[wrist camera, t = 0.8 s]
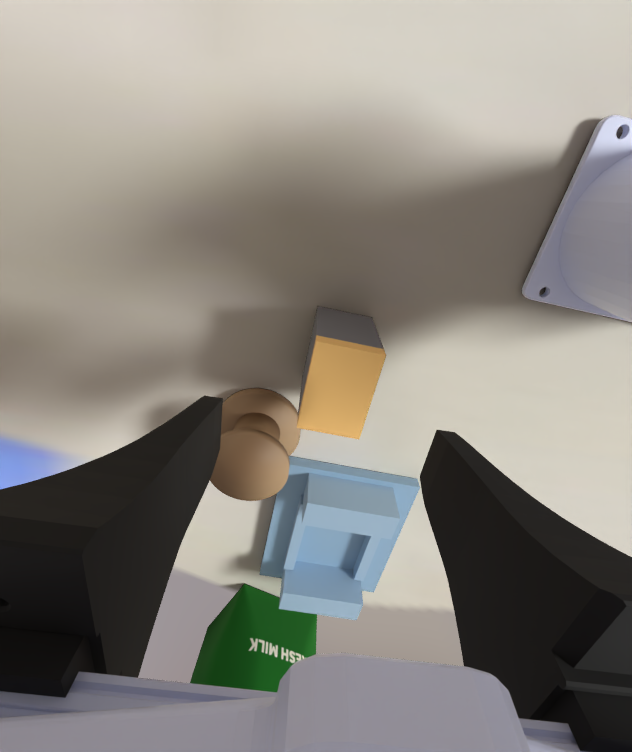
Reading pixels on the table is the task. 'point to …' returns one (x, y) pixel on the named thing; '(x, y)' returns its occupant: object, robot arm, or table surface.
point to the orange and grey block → (340, 373)
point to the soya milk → (254, 643)
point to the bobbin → (255, 444)
